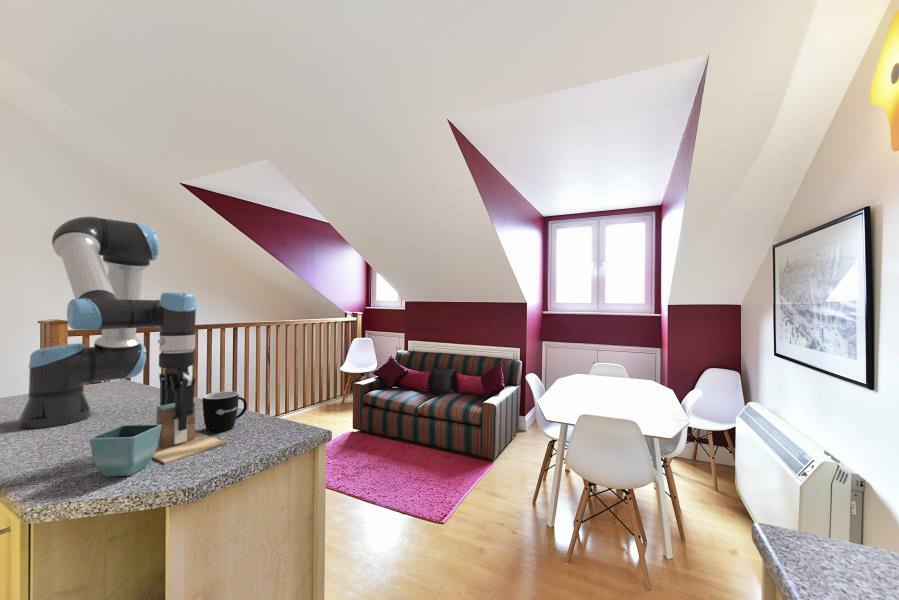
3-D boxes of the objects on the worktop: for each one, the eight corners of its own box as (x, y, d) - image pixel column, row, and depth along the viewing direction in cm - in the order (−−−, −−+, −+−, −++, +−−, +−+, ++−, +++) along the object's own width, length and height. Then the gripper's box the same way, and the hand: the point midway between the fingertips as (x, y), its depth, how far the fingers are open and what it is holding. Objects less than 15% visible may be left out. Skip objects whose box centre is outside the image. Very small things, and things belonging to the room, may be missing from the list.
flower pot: (121, 463, 84) (122, 424, 84) (162, 462, 84) (162, 423, 85) (86, 482, 75) (87, 438, 75) (132, 480, 76) (133, 437, 76)
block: (155, 445, 93) (156, 406, 93) (186, 437, 99) (187, 400, 99) (163, 448, 91) (164, 408, 91) (194, 439, 97) (195, 402, 97)
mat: (130, 448, 92) (130, 446, 92) (191, 431, 104) (191, 430, 104) (164, 464, 83) (164, 461, 83) (226, 444, 96) (226, 442, 96)
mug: (211, 437, 101) (212, 400, 101) (196, 430, 105) (196, 395, 106) (254, 425, 111) (254, 391, 111) (238, 419, 116) (239, 388, 116)
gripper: (144, 350, 96) (142, 438, 96) (177, 355, 88) (175, 452, 87) (177, 347, 103) (175, 430, 102) (210, 352, 94) (208, 442, 94)
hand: (175, 440), depth 95 cm, fingers open, 4 cm apart
